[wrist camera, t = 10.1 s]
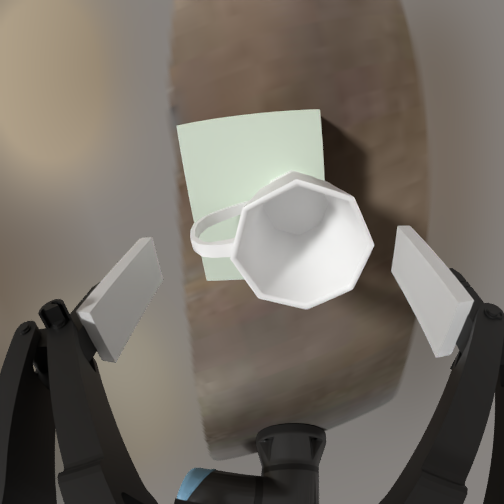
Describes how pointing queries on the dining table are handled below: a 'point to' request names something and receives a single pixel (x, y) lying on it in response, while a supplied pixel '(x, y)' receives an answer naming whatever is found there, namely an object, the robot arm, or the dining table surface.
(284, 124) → the top block
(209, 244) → the cup
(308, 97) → the dining table surface
